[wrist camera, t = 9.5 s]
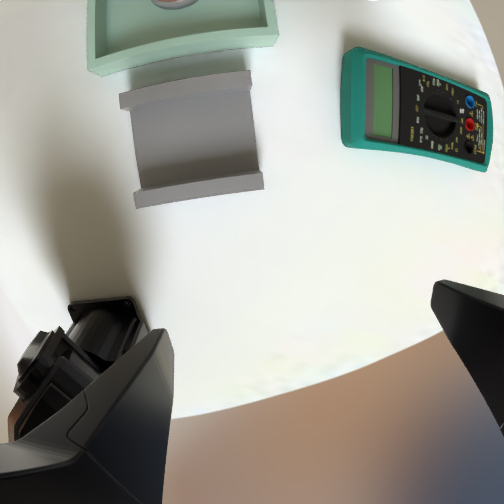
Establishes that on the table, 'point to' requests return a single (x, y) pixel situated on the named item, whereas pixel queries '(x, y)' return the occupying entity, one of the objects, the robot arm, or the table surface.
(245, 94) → the grey cradle stand
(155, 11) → the tray
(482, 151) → the digital multimeter
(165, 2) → the fuse
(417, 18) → the table surface
